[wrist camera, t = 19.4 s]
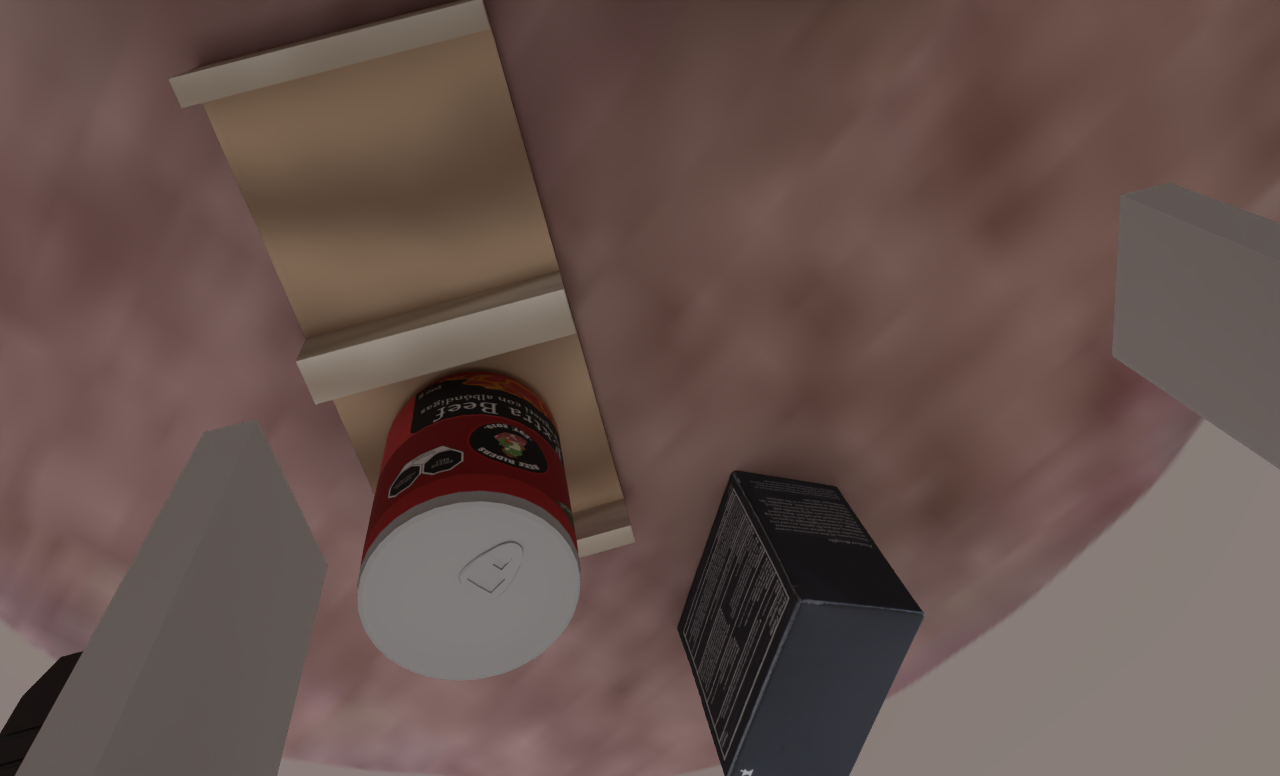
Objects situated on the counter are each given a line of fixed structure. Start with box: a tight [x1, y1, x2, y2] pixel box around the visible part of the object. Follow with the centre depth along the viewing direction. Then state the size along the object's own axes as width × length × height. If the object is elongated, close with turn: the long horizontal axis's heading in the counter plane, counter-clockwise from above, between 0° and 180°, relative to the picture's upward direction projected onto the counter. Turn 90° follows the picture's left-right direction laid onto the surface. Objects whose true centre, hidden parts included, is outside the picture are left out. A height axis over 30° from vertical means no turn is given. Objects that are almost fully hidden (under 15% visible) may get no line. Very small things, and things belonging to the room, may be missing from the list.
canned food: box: [357, 371, 581, 680], centre depth 36 cm, size 8×8×11 cm
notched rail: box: [169, 0, 635, 558], centre depth 38 cm, size 24×11×4 cm, turn 13°
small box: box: [678, 472, 925, 776], centre depth 43 cm, size 11×6×10 cm, turn 165°
